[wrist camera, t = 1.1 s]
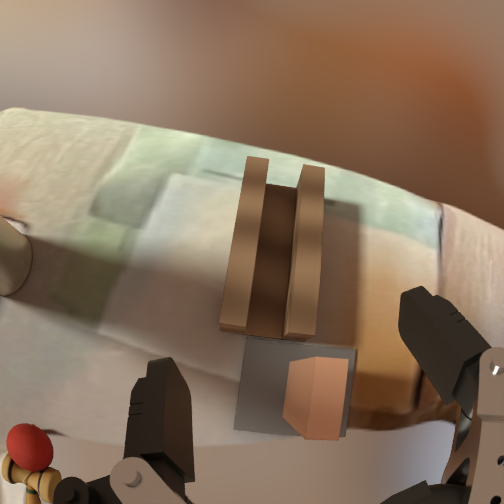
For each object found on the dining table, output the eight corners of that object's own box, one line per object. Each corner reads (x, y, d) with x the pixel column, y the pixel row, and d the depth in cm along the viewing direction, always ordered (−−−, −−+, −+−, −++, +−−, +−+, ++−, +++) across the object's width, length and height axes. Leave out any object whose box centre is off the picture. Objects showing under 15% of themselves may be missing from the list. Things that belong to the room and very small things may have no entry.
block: (304, 418, 30) (338, 440, 19) (282, 416, 30) (305, 439, 19) (311, 363, 32) (348, 359, 21) (289, 361, 32) (316, 356, 21)
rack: (303, 341, 34) (317, 335, 28) (220, 330, 34) (216, 322, 28) (315, 196, 40) (326, 168, 34) (244, 185, 40) (245, 155, 34)
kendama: (77, 541, 23) (69, 435, 27) (50, 558, 17) (32, 446, 21) (36, 515, 25) (26, 411, 29) (8, 527, 19) (-10, 416, 23)
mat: (344, 436, 30) (345, 436, 30) (233, 428, 30) (233, 429, 30) (354, 349, 34) (355, 349, 33) (246, 338, 34) (246, 337, 33)
